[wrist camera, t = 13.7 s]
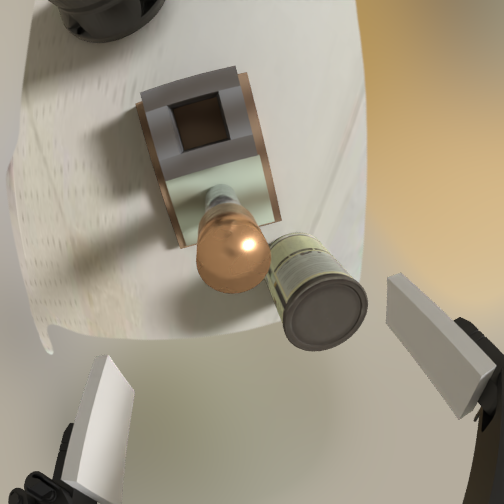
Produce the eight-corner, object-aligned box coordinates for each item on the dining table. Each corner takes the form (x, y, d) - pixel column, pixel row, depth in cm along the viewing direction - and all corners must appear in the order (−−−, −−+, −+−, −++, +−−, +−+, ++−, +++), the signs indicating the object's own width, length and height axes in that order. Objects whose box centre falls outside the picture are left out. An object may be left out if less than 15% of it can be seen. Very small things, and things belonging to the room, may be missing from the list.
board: (138, 104, 32) (122, 99, 25) (244, 75, 33) (254, 62, 26) (181, 243, 41) (176, 269, 34) (278, 216, 41) (294, 236, 34)
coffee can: (338, 262, 46) (381, 311, 33) (289, 303, 48) (317, 363, 35) (299, 217, 42) (339, 258, 29) (246, 265, 44) (264, 322, 31)
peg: (206, 224, 38) (209, 301, 22) (195, 185, 36) (186, 237, 19) (245, 213, 38) (277, 282, 22) (235, 174, 36) (262, 216, 20)
